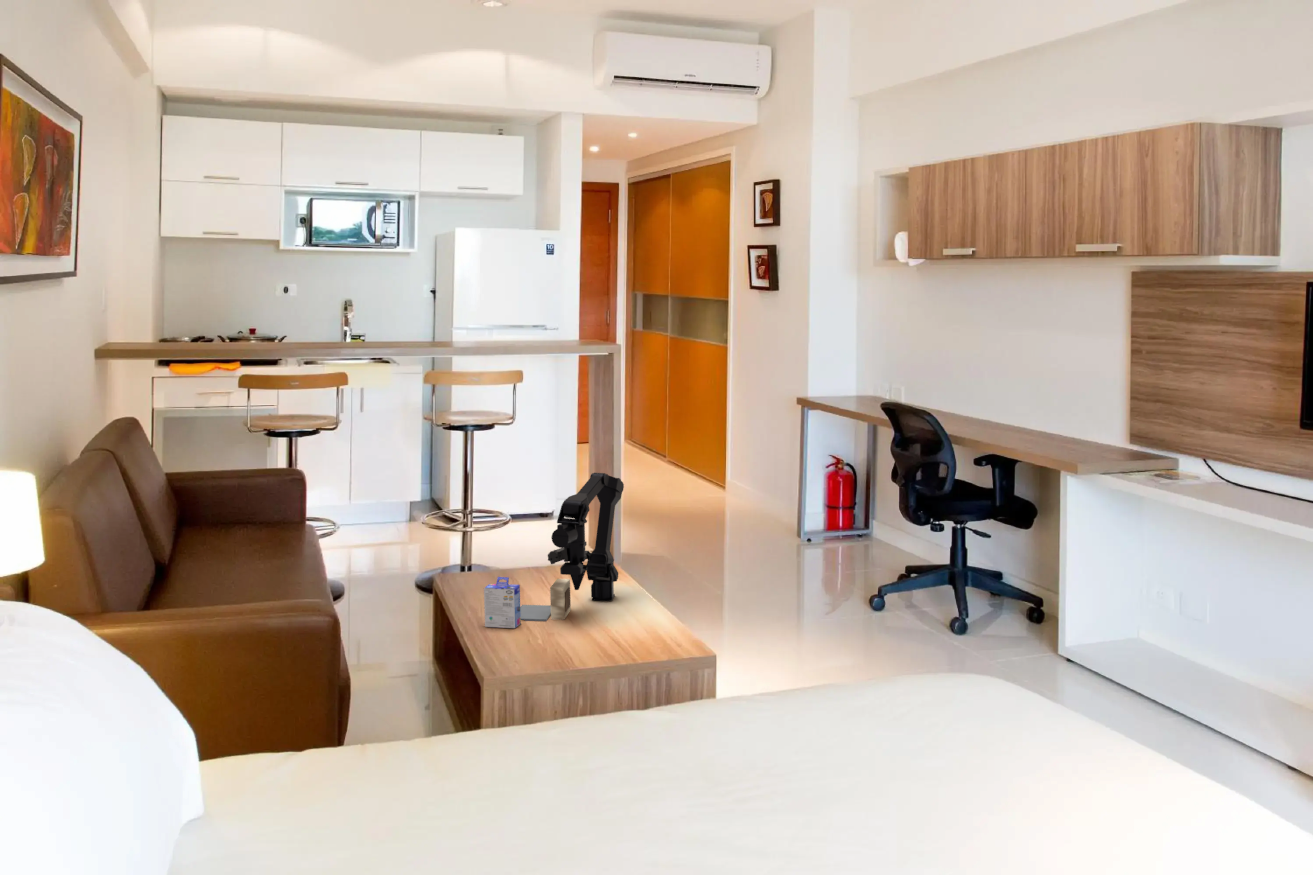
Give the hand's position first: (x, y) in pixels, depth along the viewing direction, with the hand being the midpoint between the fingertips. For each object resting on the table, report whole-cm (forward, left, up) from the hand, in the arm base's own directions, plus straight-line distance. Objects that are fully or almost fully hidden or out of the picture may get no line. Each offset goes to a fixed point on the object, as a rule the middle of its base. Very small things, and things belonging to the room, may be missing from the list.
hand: (576, 589), depth 357 cm
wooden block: (+5, 0, -8) cm, 10 cm away
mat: (+14, 0, -8) cm, 16 cm away
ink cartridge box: (+20, +12, -8) cm, 25 cm away
